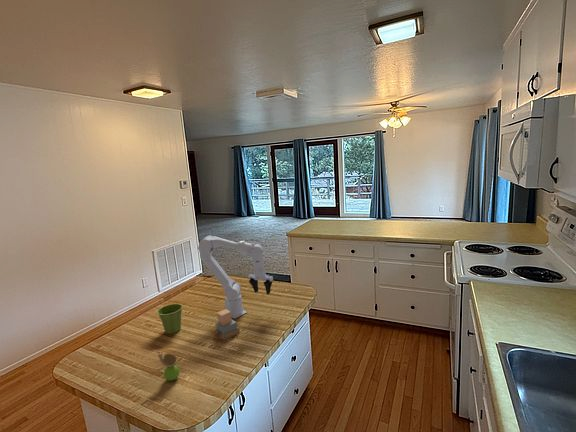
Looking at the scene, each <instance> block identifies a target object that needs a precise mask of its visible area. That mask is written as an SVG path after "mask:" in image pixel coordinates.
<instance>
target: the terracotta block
mask: <svg viewBox="0 0 576 432" xmlns="http://www.w3.org/2000/svg"><path fill="white" fill-rule="evenodd" d="M216 315H217V322H219V323H220V324H221V325H223V326H224V325H226V324H229V323H231V322H232V320H233V318H232V317H231V312H230V311H228V310H227V309H226V308H225V309H223V310H220V311H217V313H216Z"/></svg>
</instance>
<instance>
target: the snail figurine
mask: <svg viewBox="0 0 576 432" xmlns="http://www.w3.org/2000/svg"><path fill="white" fill-rule="evenodd" d="M157 356H158V358H159V361H160V363H161V365H162V366H165V368H164V370H163V377H164V379H165V380H166V381H170V382H171V381H175V380H176V379H177V378H178V377H179V375H180V368H179V366H178V365H177V364H178V362H176V360H177V357H176V355H175V354H174V353H172V352H171V353H170V352H169V353H166V354H165V355H164V356H163V354H162V353H161V352H160V350H157Z"/></svg>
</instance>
